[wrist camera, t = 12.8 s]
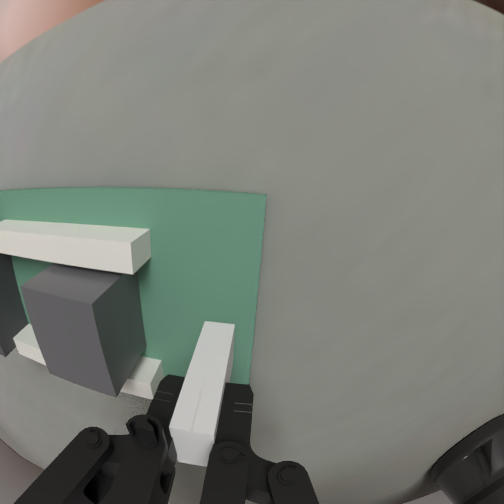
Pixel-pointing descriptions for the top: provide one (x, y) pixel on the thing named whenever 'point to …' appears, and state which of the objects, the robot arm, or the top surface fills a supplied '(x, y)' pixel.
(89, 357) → the plug
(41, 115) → the top surface
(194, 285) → the header board
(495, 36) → the top surface
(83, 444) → the robot arm
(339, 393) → the top surface
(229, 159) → the top surface
